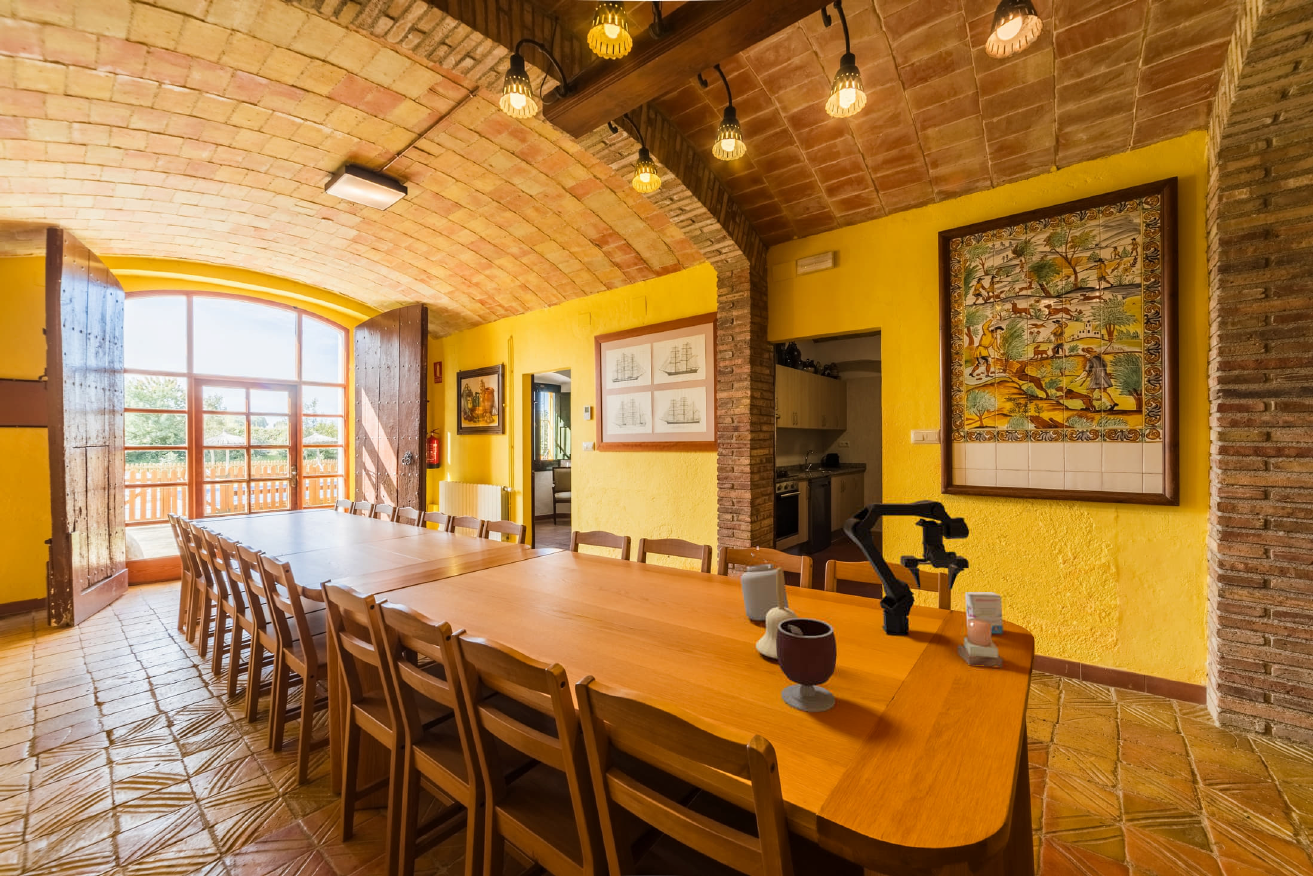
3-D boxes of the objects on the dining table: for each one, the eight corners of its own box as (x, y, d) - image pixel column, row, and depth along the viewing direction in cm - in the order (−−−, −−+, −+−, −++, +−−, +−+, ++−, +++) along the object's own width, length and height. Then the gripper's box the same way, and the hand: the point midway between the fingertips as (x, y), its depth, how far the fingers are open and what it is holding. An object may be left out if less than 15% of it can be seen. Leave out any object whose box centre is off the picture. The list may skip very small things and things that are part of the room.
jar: (730, 614, 186) (727, 545, 186) (762, 607, 193) (760, 540, 193) (764, 630, 169) (761, 554, 169) (798, 622, 176) (795, 548, 176)
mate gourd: (793, 680, 133) (790, 602, 134) (847, 695, 125) (843, 612, 125) (764, 704, 121) (761, 619, 122) (822, 723, 113) (818, 631, 113)
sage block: (970, 655, 139) (969, 646, 139) (964, 646, 145) (964, 637, 145) (997, 657, 137) (997, 648, 137) (991, 648, 143) (990, 639, 143)
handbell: (766, 640, 161) (763, 559, 161) (815, 648, 153) (812, 564, 153) (748, 658, 148) (745, 570, 148) (801, 669, 140) (798, 576, 140)
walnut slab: (969, 668, 138) (969, 656, 138) (958, 655, 146) (957, 645, 146) (1002, 669, 137) (1002, 658, 137) (989, 657, 145) (988, 646, 145)
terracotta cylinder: (970, 644, 140) (970, 624, 140) (965, 637, 145) (965, 617, 145) (994, 647, 138) (993, 626, 138) (988, 639, 143) (987, 619, 143)
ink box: (994, 628, 164) (993, 591, 164) (1003, 634, 159) (1001, 595, 159) (966, 628, 165) (964, 591, 165) (974, 634, 160) (972, 595, 160)
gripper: (909, 544, 159) (910, 595, 159) (975, 544, 156) (977, 596, 155) (898, 538, 170) (900, 585, 170) (960, 538, 166) (962, 586, 166)
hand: (934, 588), depth 165 cm, fingers open, 9 cm apart
